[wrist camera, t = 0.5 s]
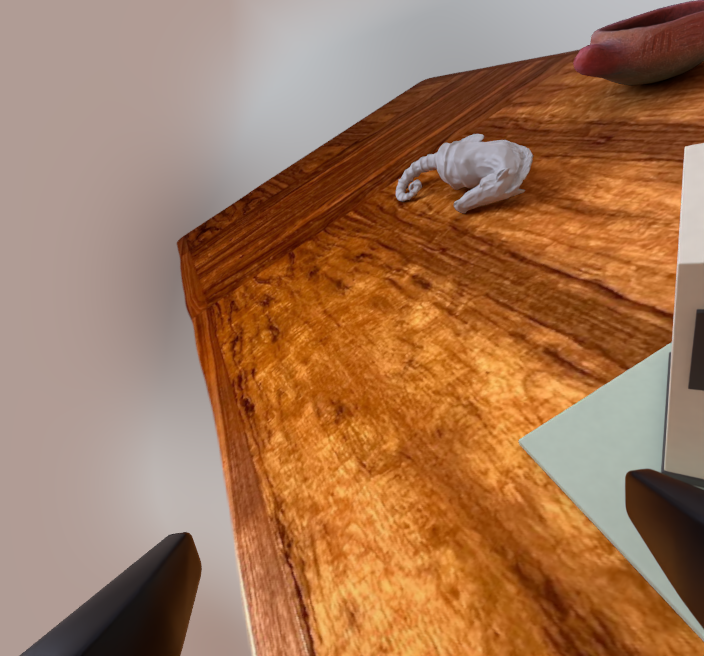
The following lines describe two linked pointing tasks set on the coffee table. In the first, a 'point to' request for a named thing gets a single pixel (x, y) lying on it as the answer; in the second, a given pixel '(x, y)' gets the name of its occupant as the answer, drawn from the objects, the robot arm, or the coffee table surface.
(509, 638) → the coffee table surface
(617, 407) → the mat
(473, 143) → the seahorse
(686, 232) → the white tilted block
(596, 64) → the bowl
